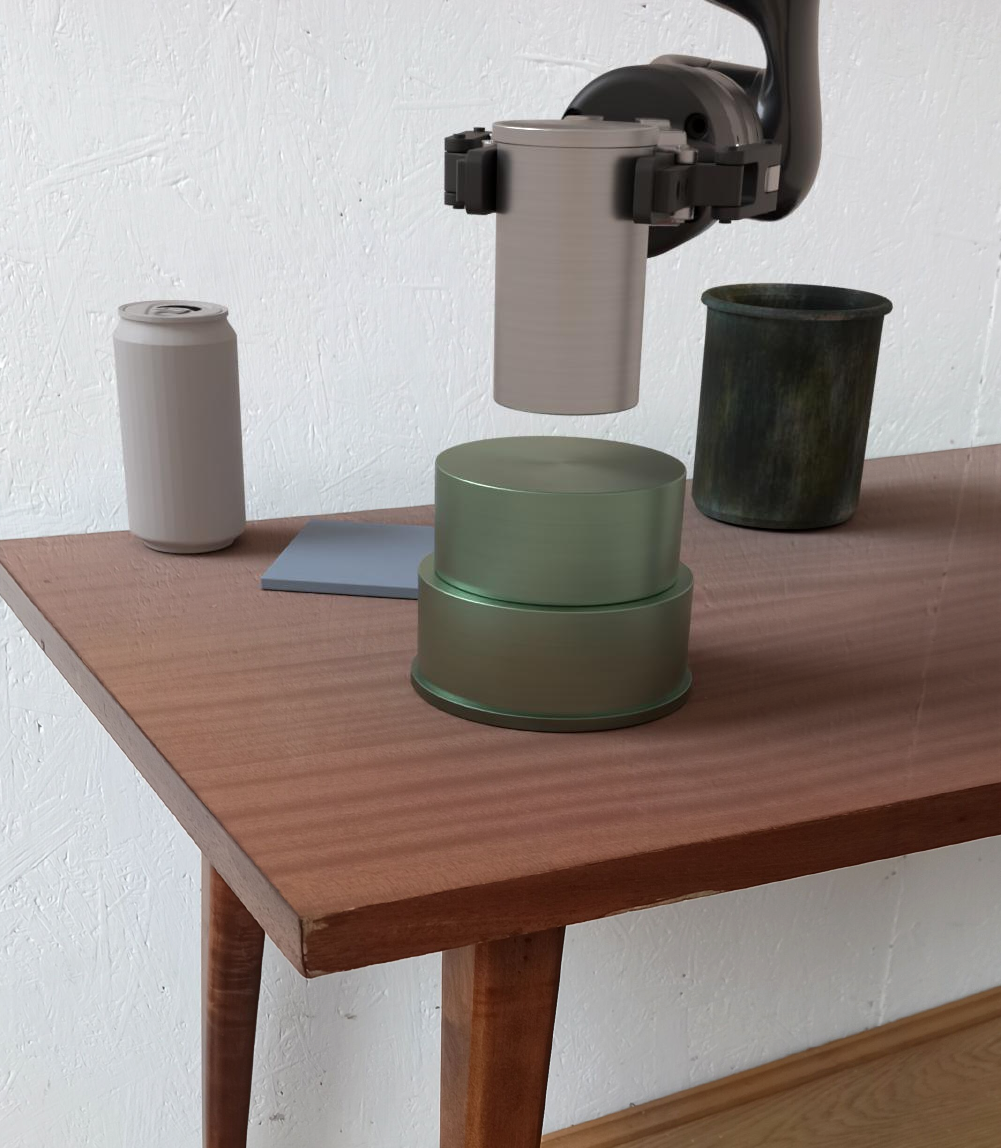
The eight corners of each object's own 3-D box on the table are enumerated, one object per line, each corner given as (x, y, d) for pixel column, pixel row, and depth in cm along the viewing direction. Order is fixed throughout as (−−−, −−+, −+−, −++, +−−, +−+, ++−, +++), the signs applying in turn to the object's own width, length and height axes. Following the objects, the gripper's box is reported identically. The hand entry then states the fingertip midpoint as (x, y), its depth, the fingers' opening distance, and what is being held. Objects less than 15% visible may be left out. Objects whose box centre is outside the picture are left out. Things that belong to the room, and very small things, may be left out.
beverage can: (262, 531, 98) (253, 301, 91) (222, 561, 92) (208, 318, 86) (157, 521, 99) (140, 293, 92) (111, 550, 93) (89, 310, 87)
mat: (519, 542, 97) (519, 531, 97) (492, 604, 87) (493, 592, 87) (310, 529, 98) (310, 518, 98) (260, 589, 88) (260, 577, 88)
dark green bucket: (652, 516, 103) (669, 297, 96) (746, 470, 114) (767, 271, 107) (824, 545, 99) (854, 318, 92) (905, 495, 109) (936, 288, 103)
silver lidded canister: (647, 390, 74) (663, 122, 68) (639, 420, 68) (655, 131, 63) (498, 383, 74) (503, 117, 69) (478, 412, 69) (482, 126, 63)
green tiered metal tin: (694, 646, 82) (713, 439, 77) (686, 741, 72) (707, 508, 67) (434, 629, 83) (435, 423, 78) (388, 720, 73) (386, 489, 68)
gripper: (505, 58, 78) (376, 66, 65) (822, 68, 75) (756, 78, 61) (502, 241, 82) (379, 285, 69) (802, 258, 79) (737, 308, 65)
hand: (558, 187), depth 65 cm, fingers closed on silver lidded canister, 6 cm apart
